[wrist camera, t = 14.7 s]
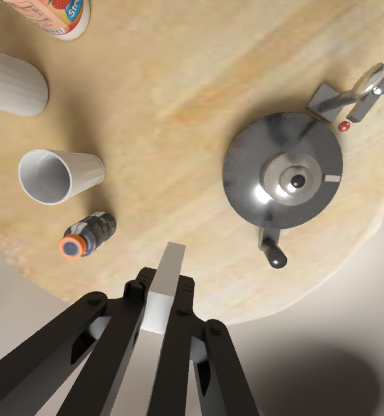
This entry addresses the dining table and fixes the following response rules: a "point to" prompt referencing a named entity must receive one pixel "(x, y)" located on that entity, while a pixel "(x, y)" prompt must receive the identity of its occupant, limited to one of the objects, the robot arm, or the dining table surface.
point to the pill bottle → (87, 235)
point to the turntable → (252, 162)
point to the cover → (290, 177)
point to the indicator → (349, 98)
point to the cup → (58, 174)
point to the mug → (21, 87)
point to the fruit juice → (55, 16)
